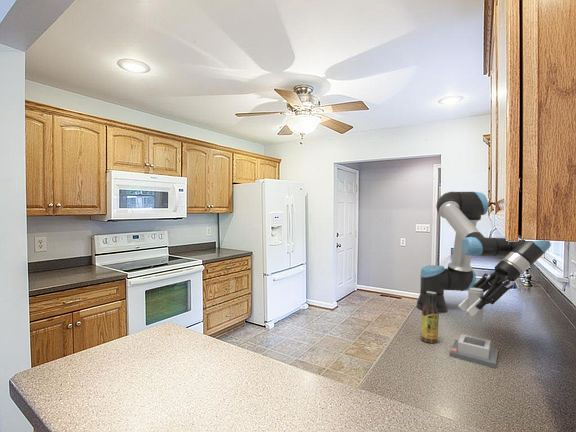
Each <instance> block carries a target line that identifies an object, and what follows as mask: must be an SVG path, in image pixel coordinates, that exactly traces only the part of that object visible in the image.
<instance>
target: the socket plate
mask: <svg viewBox="0 0 576 432" xmlns="http://www.w3.org/2000/svg"><path fill="white" fill-rule="evenodd" d="M491 341H492V340H490V339H486V338H480V337H476V336H472V335H467V334H461V335H460V337H459V339H455V340H454V342H453V345H451V346H452V347H451V348H450V350H449V357H452V358H455V359H458V360H461V361H465V362H466V361H467V362H469V363H470V362H471V363H475V364H478V365H481V366H486V367H489V368H493V369H496V368H497V361H498V355H499V349H497V348H493V347H491V346H492V345H491V343H492V342H491Z"/></svg>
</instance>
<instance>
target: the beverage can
mask: <svg viewBox="0 0 576 432" xmlns="http://www.w3.org/2000/svg"><path fill="white" fill-rule="evenodd" d="M467 292H468V295H467V297H468V308H469V307H471V306H472V305H473V304H474V303H475V302H476V301H477V300H478V299H479V298H480V297H483V296H484V295H485V292H483V289H480V288H469V290H468V291H467ZM480 299H481V298H480ZM481 300H482V299H481ZM468 308H467V309H468ZM467 320H468V321H469V322H471V323H474V324H482V323H483V322H484V307H483V308H482V309H480V310H479V311H478V312H477V313H476V314H475V315H474V316H473V317H472V316H471V315H470V314H469V313H468V312H467Z"/></svg>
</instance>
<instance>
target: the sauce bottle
mask: <svg viewBox="0 0 576 432" xmlns="http://www.w3.org/2000/svg"><path fill="white" fill-rule="evenodd" d="M436 297H437V293H436V292H431V291H427V292H426V303H425V305H424V306H423V309H422V310H421V311H422V313H421V326H420V327H421V328H420V339H421V341H423V342H424V343H427V344H435V343H437V342H438V338H439V337H438V335H439V321H440V320H439V319H440V318H439V314H440V313H438V310H437V306H436Z"/></svg>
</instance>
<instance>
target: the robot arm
mask: <svg viewBox="0 0 576 432" xmlns="http://www.w3.org/2000/svg"><path fill="white" fill-rule="evenodd" d="M435 206H436V207H435V209H436V211H437V213H438V215H439V216H440V217H441V218H443V219H445V220H446V222H447V223H448V224H449V226H451V227H452V229H453V230H454V232H455V237H454V241H453V243H454V244H453V251H452V257H451V262H449V263H447V267H446V268H445V266H443V265H440V264H439V265H436V264H431V265H425V266H423V267H421V269H420V275H419V276H420V290H419V292H420V293H419V296H418V299H417V301H416V308H417V309H418V308H419V310H420V309H421V311H422V309H423V306H424V305H425V303H426V292H427V291H431V292H436V293H437V297H436V306H437V310H438V312H443V313H446V312H448V305H447V302H446V299H445V296H444V295H445V293H444V292H445V291H456V292H457V291H459V292H466V291H467V292H468V290H469V288H480V289H483V292H484V296H483V297H480V298H481V299H482V300H481V299H480V298H479V299H478V300H477V301H476V302H475V303H474V304H473V305H472V306H471V307H469V308H468V296H467V297H466V298H465V299H463V301H461V302H460V303H459V304H458V308H459V309H460V310H461V311H462V312H467V314H468V313H469V314H470V315H471V316H472V317H473V316H474V315H475V314H476V313H477V312H478V311H479V310H480V309H482V308H483V309H484V307H485V306H487V305H489V304H490V305H494V304H495V303H496V302H497V301H499V300H500V298H502V296H504V295H505V294H506V293H507V291H509V290H511V289H513V288H514V285H513V282H515V281H516V280H518V279H519V277H520V276H521V274H523V273H525V272H526V271H527V270H528V269H529V268H530V267H531V266H532V265H533V264H534V263H536V261H538V260H539V259H540V258H541V257H542V256H543V255H545V254H546V252H547V251H548V250H549V249H550V248H551V245H552V243H551V242H550V240H549V241H525V240H519V241H518V242H508V241H506V239H505V238H506V237H485V236H484V235H483V234H482V232H481V231H480V230H479V229H478V228H477V224H478V223H477V222H479V221H481V219H482V216H484V215H486V214H487V213H488V212H489V211H488V210H489V201H488V199H487V197H486V195H485V194H484V193H483V192H481V191H480V192H478V191H448V192H445V193H443V194H442V195H441V196H440V197H439V198H438V199H437V201H436V205H435ZM472 256H473V257H501V258H502V260H500V261H499V262H498V263H497V264H496V265H495V266H494V272H492V273H491V274H487V273H484V274H483V275H482V276H481V278H480V279H479V280H478V281H477V277H476V276H477V274H476V272H475V271H474V270H473V267H472V266H471V260H472Z"/></svg>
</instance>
